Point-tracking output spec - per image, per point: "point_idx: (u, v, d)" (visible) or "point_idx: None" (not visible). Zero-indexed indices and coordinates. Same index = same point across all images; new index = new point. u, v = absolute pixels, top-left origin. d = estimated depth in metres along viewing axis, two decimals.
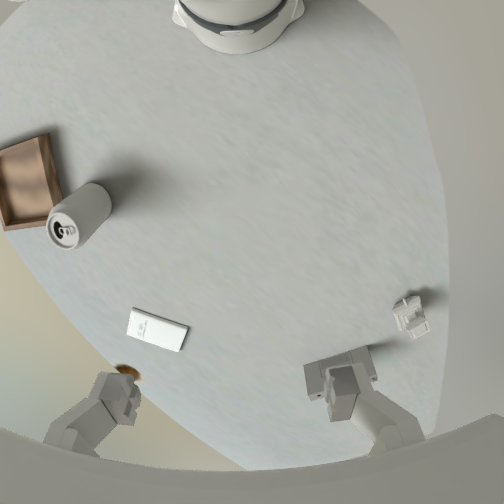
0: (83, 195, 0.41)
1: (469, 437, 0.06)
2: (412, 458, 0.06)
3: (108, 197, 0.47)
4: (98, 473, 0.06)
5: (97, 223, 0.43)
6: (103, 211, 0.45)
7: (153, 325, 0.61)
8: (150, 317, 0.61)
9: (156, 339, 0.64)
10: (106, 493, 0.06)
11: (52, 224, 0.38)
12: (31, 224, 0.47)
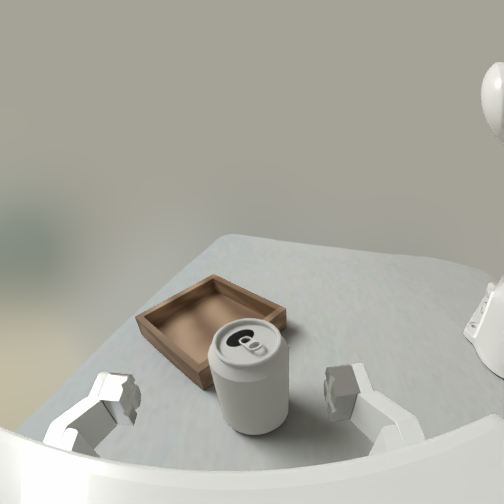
0: None
1: (469, 437, 0.06)
2: (412, 458, 0.06)
3: (285, 417, 0.29)
4: (98, 473, 0.06)
5: (267, 402, 0.26)
6: (276, 412, 0.27)
7: None
8: None
9: None
10: (106, 493, 0.06)
11: (242, 329, 0.29)
12: (169, 343, 0.38)
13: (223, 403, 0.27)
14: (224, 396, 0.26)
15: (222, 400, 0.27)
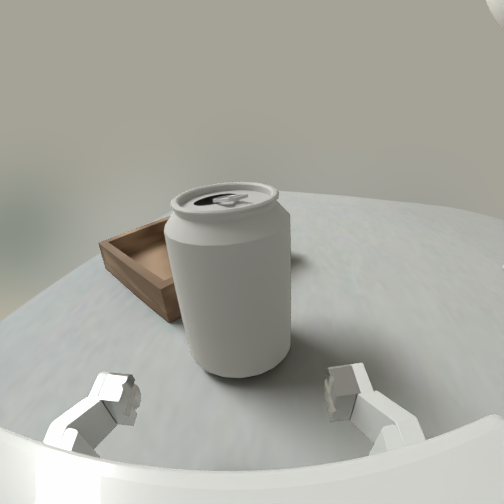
0: None
1: (469, 437, 0.06)
2: (412, 458, 0.06)
3: (285, 351, 0.20)
4: (98, 473, 0.06)
5: (255, 303, 0.17)
6: (271, 332, 0.18)
7: None
8: None
9: None
10: (106, 493, 0.06)
11: (219, 193, 0.20)
12: (131, 262, 0.29)
13: (185, 313, 0.18)
14: (185, 293, 0.17)
15: (184, 306, 0.18)
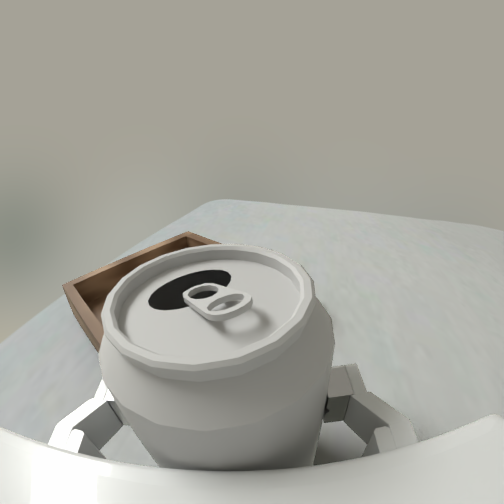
0: None
1: (469, 437, 0.06)
2: (412, 458, 0.06)
3: None
4: (98, 472, 0.06)
5: None
6: None
7: None
8: None
9: None
10: (106, 493, 0.06)
11: (200, 269, 0.11)
12: (94, 323, 0.20)
13: (155, 460, 0.09)
14: (148, 450, 0.08)
15: (150, 454, 0.09)
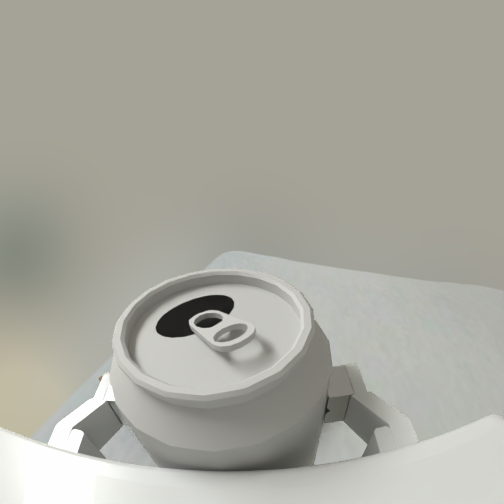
0: None
1: (469, 437, 0.06)
2: (412, 458, 0.06)
3: None
4: (98, 472, 0.06)
5: None
6: None
7: None
8: None
9: None
10: (106, 493, 0.06)
11: (203, 294, 0.11)
12: None
13: None
14: (158, 463, 0.09)
15: (159, 466, 0.10)
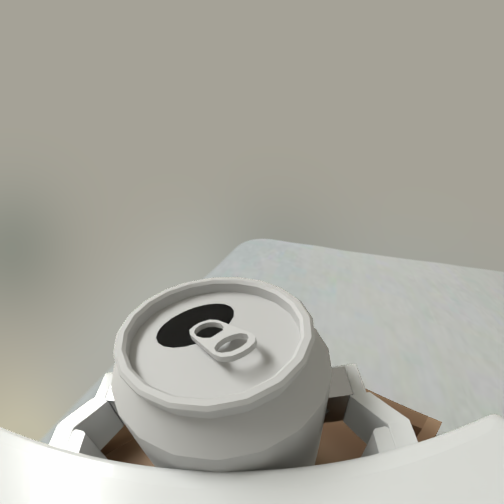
0: None
1: (469, 437, 0.06)
2: (412, 458, 0.06)
3: None
4: (98, 472, 0.06)
5: None
6: None
7: None
8: None
9: None
10: (106, 493, 0.06)
11: (203, 303, 0.11)
12: None
13: None
14: None
15: None
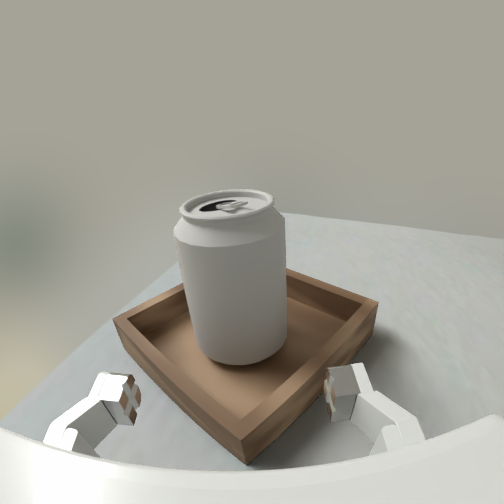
0: None
1: (469, 437, 0.06)
2: (412, 458, 0.06)
3: (282, 340, 0.23)
4: (98, 472, 0.06)
5: (256, 296, 0.19)
6: (269, 322, 0.21)
7: None
8: None
9: None
10: (106, 493, 0.06)
11: (221, 200, 0.22)
12: (173, 371, 0.19)
13: (193, 307, 0.21)
14: (194, 289, 0.20)
15: (192, 301, 0.20)
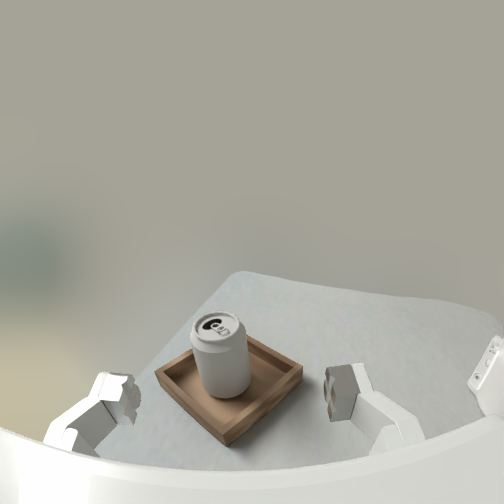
0: None
1: (469, 437, 0.06)
2: (412, 458, 0.06)
3: (247, 385, 0.42)
4: (98, 473, 0.06)
5: (230, 370, 0.38)
6: (238, 379, 0.40)
7: None
8: None
9: None
10: (106, 493, 0.06)
11: (213, 318, 0.41)
12: (192, 402, 0.38)
13: (201, 372, 0.40)
14: (201, 366, 0.39)
15: (200, 369, 0.40)
